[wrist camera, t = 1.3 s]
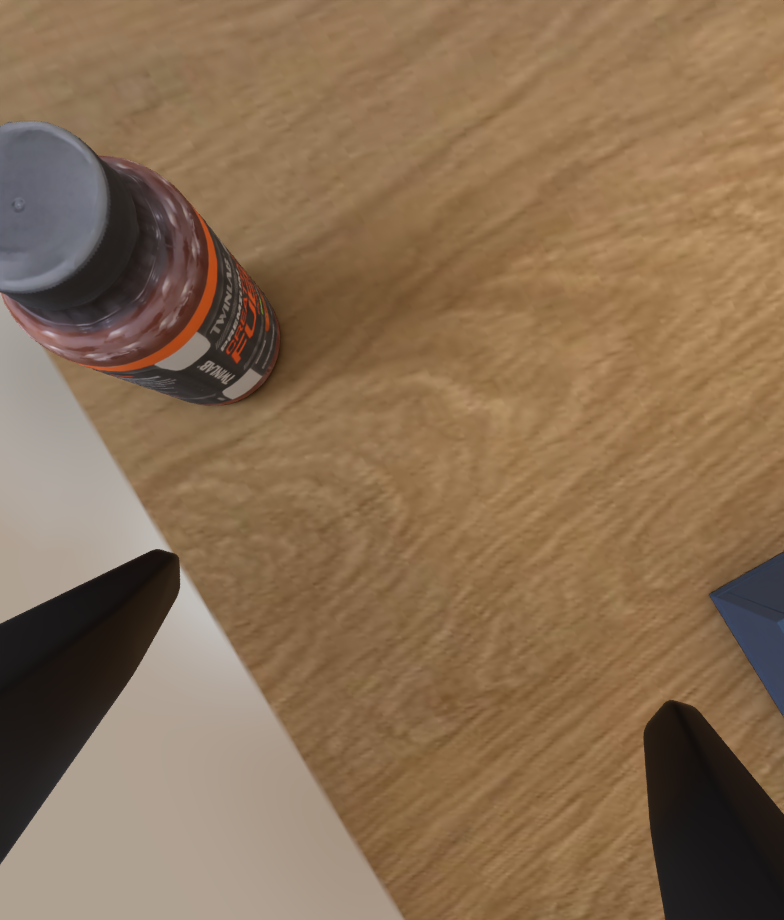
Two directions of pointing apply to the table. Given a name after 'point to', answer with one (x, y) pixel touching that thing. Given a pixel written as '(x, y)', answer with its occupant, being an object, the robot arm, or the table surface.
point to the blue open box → (758, 621)
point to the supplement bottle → (125, 272)
